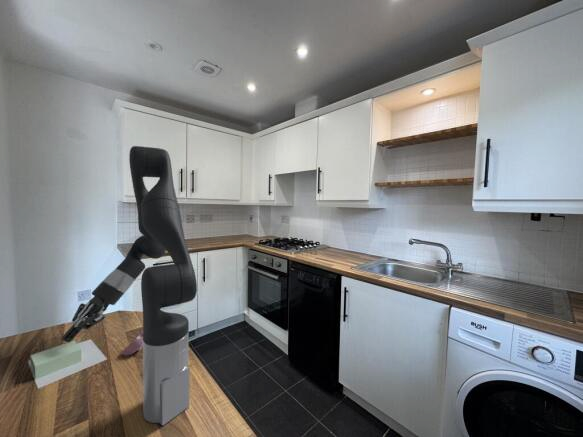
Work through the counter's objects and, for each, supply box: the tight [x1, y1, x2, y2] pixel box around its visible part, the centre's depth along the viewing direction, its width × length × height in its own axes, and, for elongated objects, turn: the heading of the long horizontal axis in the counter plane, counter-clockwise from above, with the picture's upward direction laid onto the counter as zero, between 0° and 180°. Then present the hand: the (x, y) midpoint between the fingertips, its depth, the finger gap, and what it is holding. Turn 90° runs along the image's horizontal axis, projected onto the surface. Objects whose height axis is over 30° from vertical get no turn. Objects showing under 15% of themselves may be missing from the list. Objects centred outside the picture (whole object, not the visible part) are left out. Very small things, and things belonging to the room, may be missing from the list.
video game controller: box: [122, 330, 143, 356], centre depth 75 cm, size 10×5×7 cm, turn 0°
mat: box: [27, 339, 108, 389], centre depth 68 cm, size 16×14×1 cm
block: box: [29, 340, 81, 380], centre depth 66 cm, size 7×4×9 cm
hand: (65, 340), depth 67 cm, fingers closed
